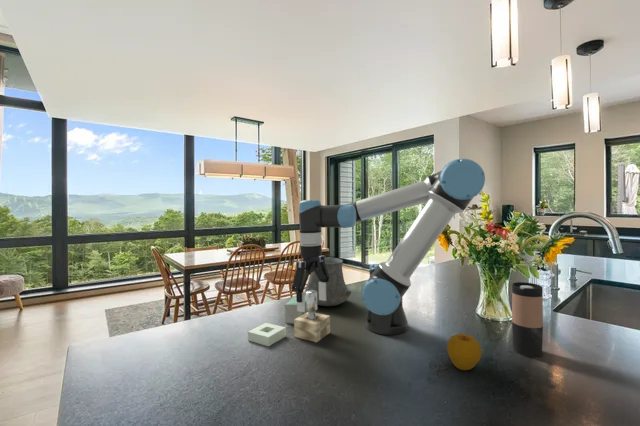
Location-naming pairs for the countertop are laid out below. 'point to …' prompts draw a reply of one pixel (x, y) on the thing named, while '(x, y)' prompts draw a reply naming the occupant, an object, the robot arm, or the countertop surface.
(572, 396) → the countertop surface
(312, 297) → the silver peg
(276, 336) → the stand
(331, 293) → the vessel
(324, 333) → the block
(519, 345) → the travel mug
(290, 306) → the box
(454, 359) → the apple
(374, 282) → the robot arm
